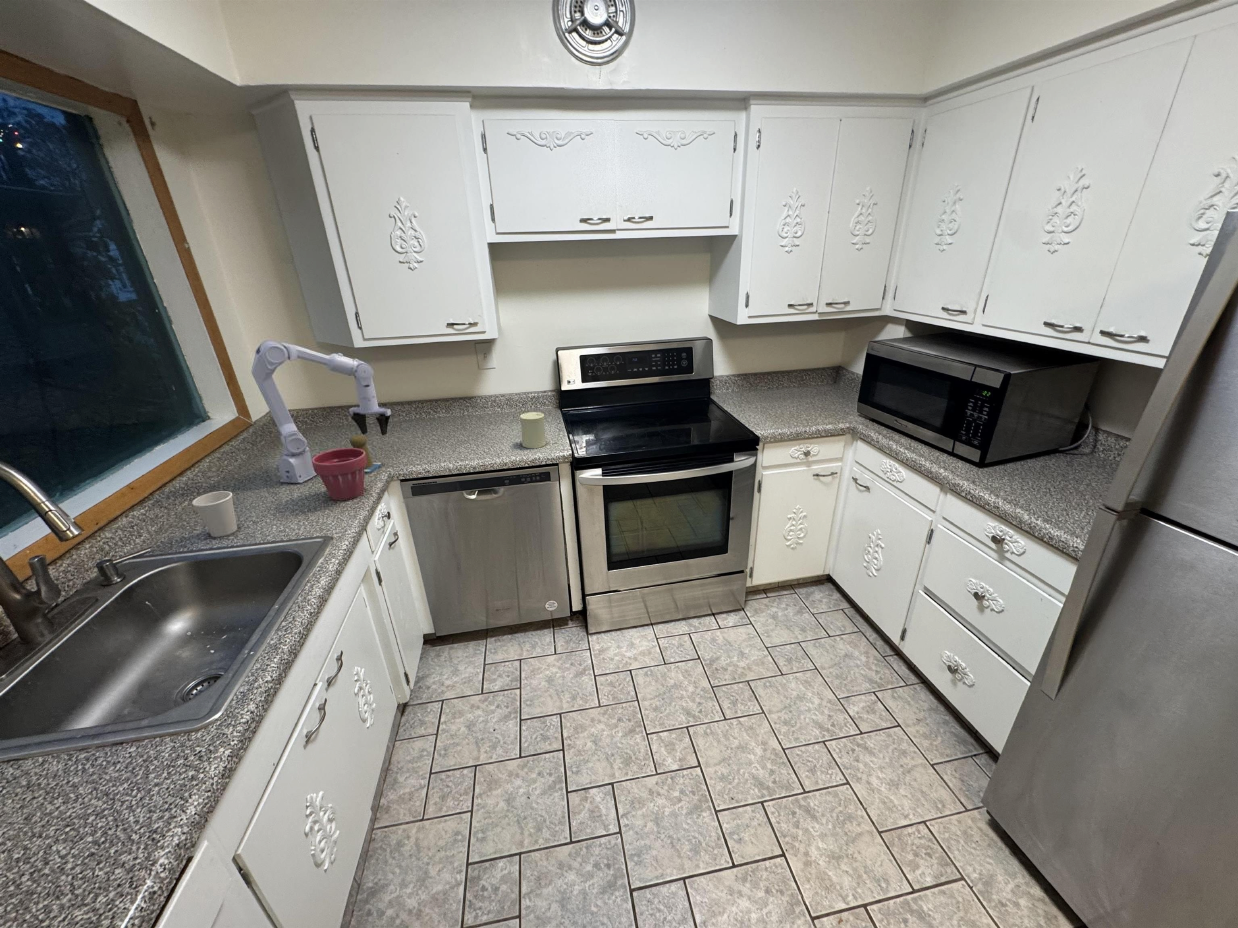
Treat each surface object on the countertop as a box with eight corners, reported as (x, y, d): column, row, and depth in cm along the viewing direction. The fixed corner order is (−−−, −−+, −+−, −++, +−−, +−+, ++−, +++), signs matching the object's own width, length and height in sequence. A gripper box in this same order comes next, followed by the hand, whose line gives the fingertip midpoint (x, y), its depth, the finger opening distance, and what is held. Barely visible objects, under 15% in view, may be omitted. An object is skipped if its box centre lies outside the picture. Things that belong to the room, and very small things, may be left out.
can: (548, 446, 193) (546, 416, 188) (524, 449, 190) (522, 419, 185) (543, 438, 201) (541, 409, 196) (520, 441, 198) (517, 412, 193)
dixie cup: (237, 520, 140) (226, 488, 136) (247, 530, 135) (236, 496, 131) (200, 532, 134) (188, 498, 130) (209, 542, 129) (196, 508, 125)
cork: (365, 470, 171) (359, 439, 167) (350, 469, 172) (343, 438, 168) (377, 463, 176) (371, 433, 172) (362, 462, 177) (355, 432, 173)
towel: (369, 473, 170) (368, 471, 170) (345, 471, 171) (344, 470, 171) (382, 464, 177) (382, 462, 177) (359, 463, 179) (359, 461, 178)
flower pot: (376, 482, 163) (369, 445, 158) (368, 500, 150) (360, 461, 146) (328, 487, 160) (318, 449, 155) (315, 506, 147) (305, 466, 142)
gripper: (393, 394, 176) (399, 431, 181) (355, 393, 178) (363, 429, 184) (381, 399, 170) (388, 437, 175) (342, 398, 172) (350, 435, 177)
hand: (374, 434), depth 179 cm, fingers open, 7 cm apart
